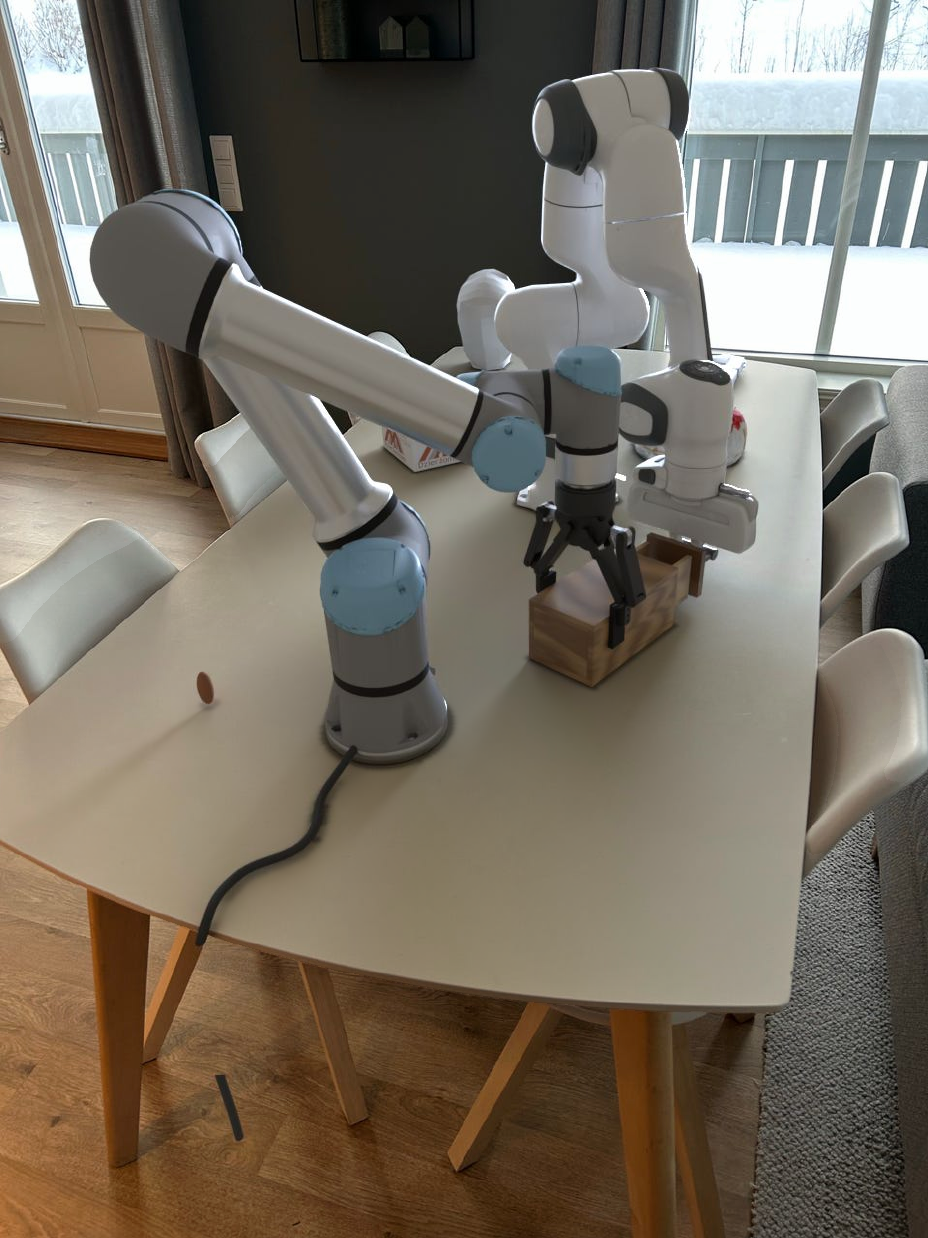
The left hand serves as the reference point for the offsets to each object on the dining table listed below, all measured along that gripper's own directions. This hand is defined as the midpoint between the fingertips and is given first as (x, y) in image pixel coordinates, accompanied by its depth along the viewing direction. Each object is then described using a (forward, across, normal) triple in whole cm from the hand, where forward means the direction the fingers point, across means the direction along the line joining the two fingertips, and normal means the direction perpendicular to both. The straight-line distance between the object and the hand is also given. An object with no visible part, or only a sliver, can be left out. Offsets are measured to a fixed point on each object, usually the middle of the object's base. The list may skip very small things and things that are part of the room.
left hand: (580, 629), depth 122 cm
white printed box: (+5, +70, -43) cm, 83 cm away
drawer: (+4, 0, -17) cm, 18 cm away
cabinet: (+5, 0, -5) cm, 7 cm away
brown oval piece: (+5, +31, +40) cm, 50 cm away
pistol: (+5, +51, -119) cm, 130 cm away
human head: (+5, +103, -98) cm, 142 cm away
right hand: (+1, 0, -27) cm, 27 cm away
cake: (+5, +29, -76) cm, 82 cm away
